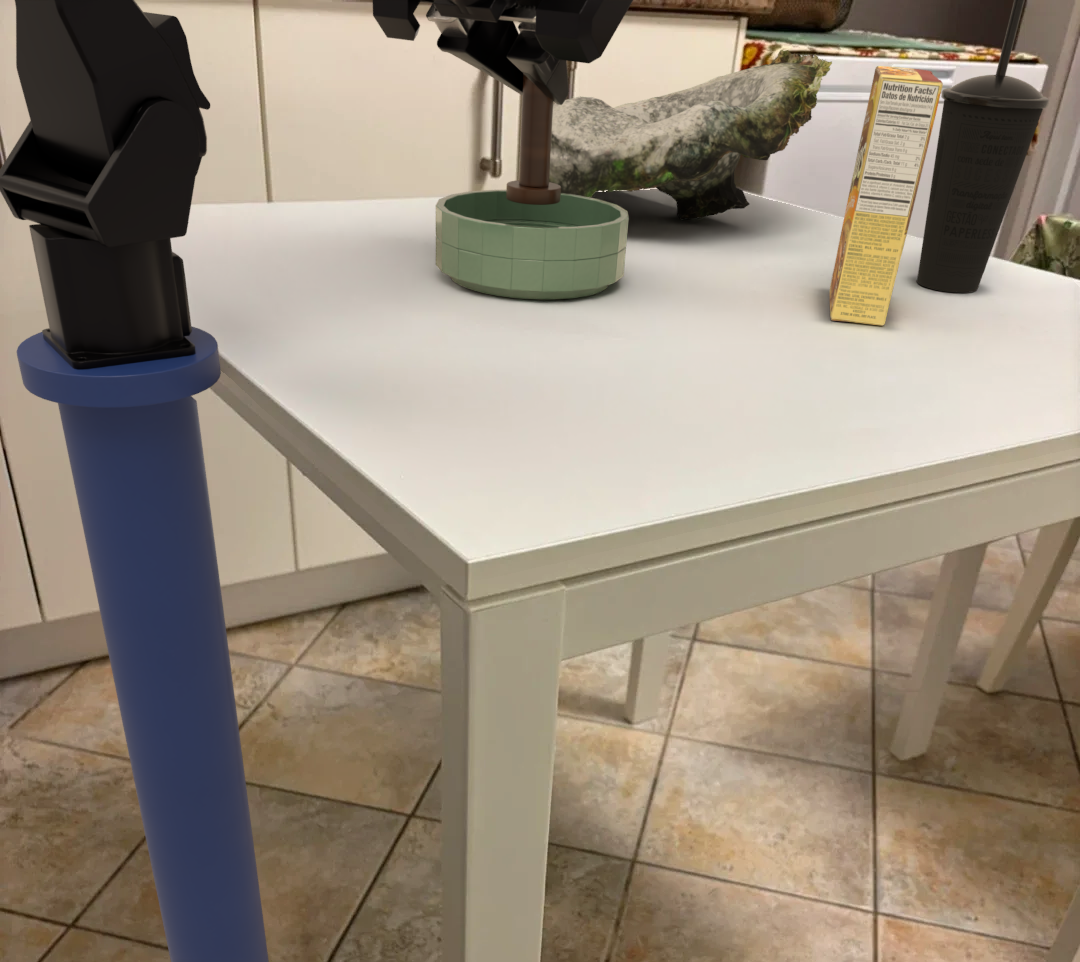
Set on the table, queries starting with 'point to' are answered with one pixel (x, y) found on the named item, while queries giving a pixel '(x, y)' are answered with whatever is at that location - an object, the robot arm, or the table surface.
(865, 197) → the candy box
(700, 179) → the mossy rock
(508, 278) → the mixing bowl
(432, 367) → the table surface
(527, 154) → the brown wooden peg
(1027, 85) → the drinking cup
